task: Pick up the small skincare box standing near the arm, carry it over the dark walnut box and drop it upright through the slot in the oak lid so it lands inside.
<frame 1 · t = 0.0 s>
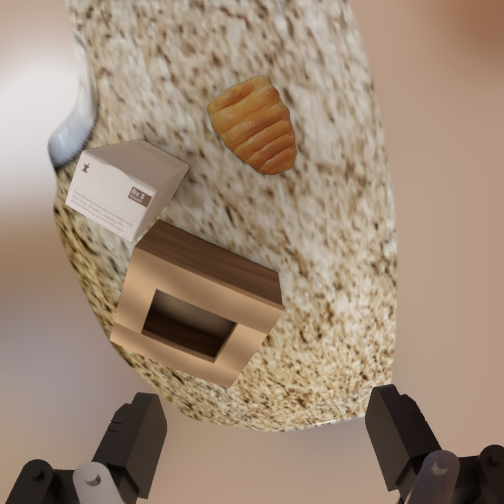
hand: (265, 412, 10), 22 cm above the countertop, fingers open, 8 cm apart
skincare box: (159, 168, 28), on the countertop
pastry: (255, 121, 27), on the countertop
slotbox: (198, 290, 34), on the countertop
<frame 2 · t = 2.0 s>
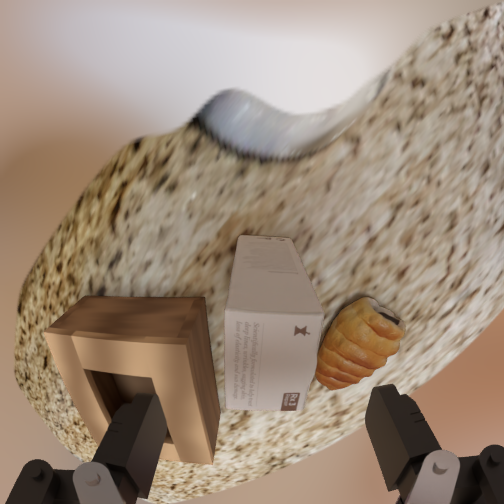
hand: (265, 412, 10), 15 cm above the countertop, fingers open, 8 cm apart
skincare box: (264, 272, 24), on the countertop
pastry: (356, 335, 26), on the countertop
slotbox: (153, 361, 27), on the countertop
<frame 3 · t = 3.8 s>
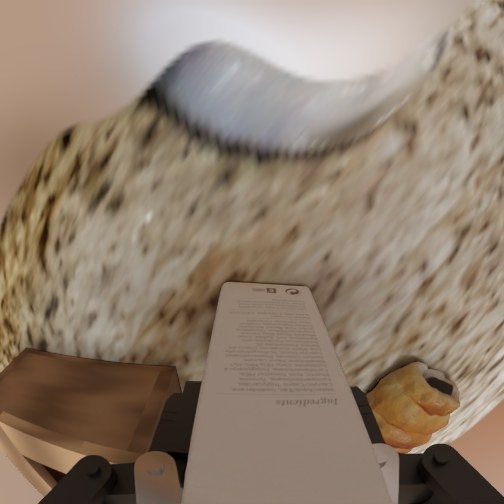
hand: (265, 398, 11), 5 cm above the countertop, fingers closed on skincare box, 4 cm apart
skincare box: (264, 335, 15), on the countertop, touching gripper
pastry: (394, 403, 17), on the countertop
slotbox: (118, 430, 18), on the countertop
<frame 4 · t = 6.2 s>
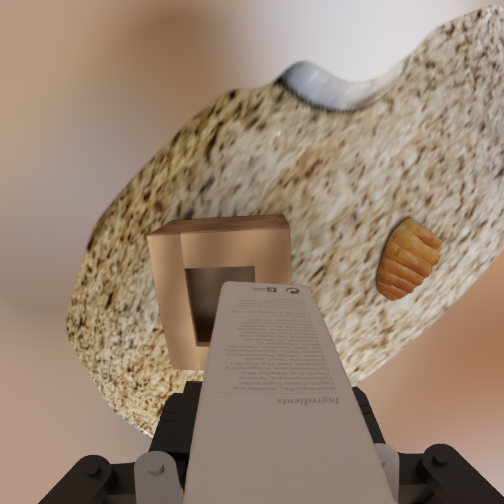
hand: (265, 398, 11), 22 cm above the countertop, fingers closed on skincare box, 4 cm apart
skincare box: (264, 334, 15), point 17 cm above the countertop, touching gripper
pastry: (405, 254, 32), on the countertop
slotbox: (231, 279, 33), on the countertop
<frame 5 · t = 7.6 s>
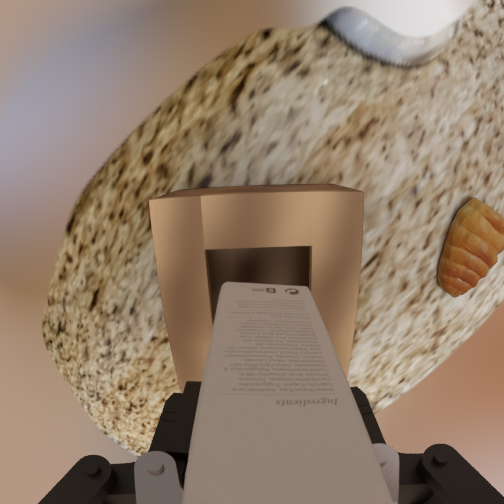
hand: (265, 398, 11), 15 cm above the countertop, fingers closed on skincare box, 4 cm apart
skincare box: (263, 335, 15), point 10 cm above the countertop, touching gripper
pastry: (466, 241, 24), on the countertop
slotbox: (259, 271, 25), on the countertop
when the fingers open (14 cm above the countertop, at t = 8.5 s): skincare box drops 8 cm, resting on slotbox.
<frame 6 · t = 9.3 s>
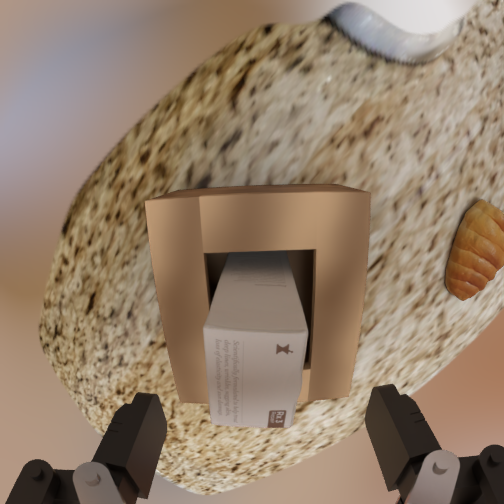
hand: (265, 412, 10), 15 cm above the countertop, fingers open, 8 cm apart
skincare box: (258, 282, 24), resting on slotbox
pastry: (473, 243, 23), on the countertop
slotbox: (260, 274, 24), on the countertop
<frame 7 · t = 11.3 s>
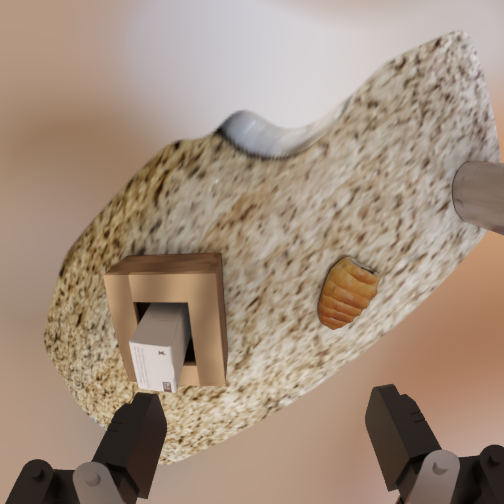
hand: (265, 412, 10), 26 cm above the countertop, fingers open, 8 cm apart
skincare box: (176, 311, 37), resting on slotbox
pastry: (345, 287, 37), on the countertop
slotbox: (178, 306, 37), on the countertop
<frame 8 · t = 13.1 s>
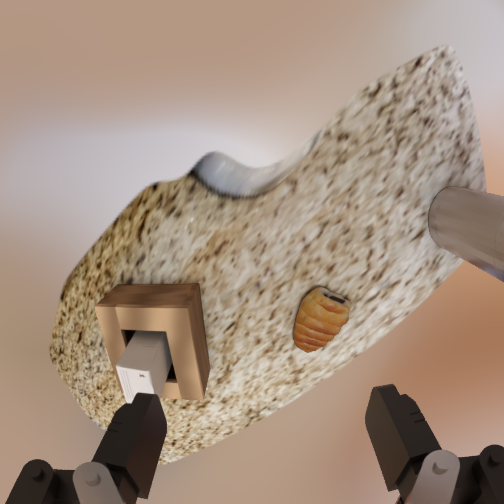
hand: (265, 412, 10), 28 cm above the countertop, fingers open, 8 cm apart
skincare box: (162, 332, 41), resting on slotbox
pastry: (319, 313, 40), on the countertop
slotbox: (164, 329, 41), on the countertop
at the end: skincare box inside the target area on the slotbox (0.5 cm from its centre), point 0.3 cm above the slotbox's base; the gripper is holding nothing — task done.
